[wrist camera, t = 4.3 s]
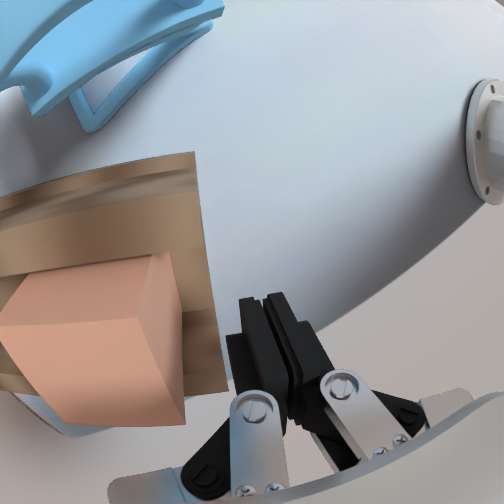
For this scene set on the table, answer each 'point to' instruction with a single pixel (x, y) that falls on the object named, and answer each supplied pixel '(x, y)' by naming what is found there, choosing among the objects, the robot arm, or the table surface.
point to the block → (101, 341)
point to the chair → (92, 47)
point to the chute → (118, 246)
